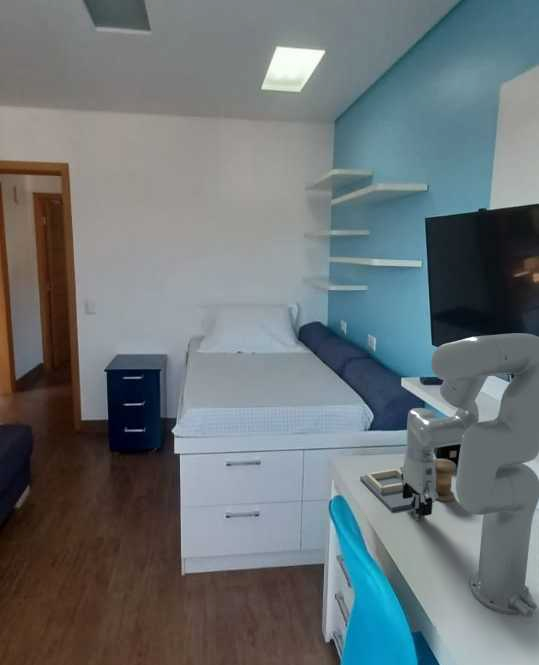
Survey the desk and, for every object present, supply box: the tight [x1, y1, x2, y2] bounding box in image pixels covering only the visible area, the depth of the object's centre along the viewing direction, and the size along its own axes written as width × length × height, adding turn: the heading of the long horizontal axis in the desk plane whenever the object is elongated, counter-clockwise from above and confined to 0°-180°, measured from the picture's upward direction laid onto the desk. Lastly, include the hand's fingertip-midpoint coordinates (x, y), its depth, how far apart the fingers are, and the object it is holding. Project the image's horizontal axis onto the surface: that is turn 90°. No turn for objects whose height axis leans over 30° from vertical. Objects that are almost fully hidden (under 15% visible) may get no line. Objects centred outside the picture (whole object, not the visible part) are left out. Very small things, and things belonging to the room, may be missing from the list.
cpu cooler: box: [433, 444, 461, 467], centre depth 169 cm, size 10×6×10 cm, turn 97°
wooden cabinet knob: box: [433, 458, 457, 503], centre depth 147 cm, size 7×7×11 cm
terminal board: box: [359, 468, 429, 512], centre depth 151 cm, size 20×14×3 cm
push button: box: [408, 485, 427, 521], centre depth 137 cm, size 7×5×10 cm
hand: (416, 505), depth 138 cm, fingers open, 9 cm apart
